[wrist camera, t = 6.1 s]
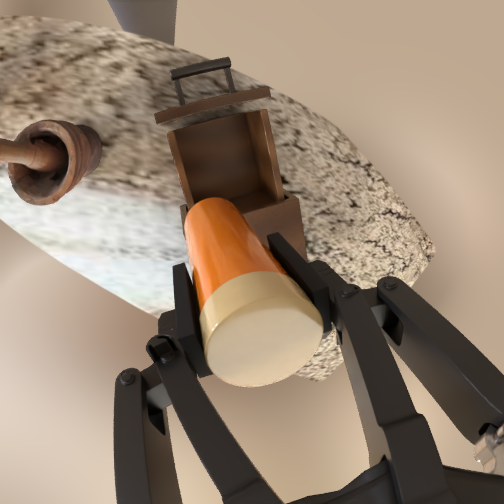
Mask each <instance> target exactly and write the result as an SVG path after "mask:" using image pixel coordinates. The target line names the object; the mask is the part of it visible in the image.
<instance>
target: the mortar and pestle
mask: <svg viewBox="0 0 504 504" xmlns="http://www.w3.org/2000/svg"><path fill="white" fill-rule="evenodd" d="M101 152H102V144H101V140H100V137H99V135H98V134H97V133H96V132H95V131H94V130H93V129H92V128H90V127H87V126H85V125H74V124H72V123H69V122H66V121H56V120H41V121H39V122H36V123H33V124H31V125H29V126H28V127H26V128H25V129H24V130H23V131H22V132H20V134H19V135H18V136H17V138H16V139H15V140H14V141H10V140H6V139H2V138H0V162H8V174H9V178H10V180H11V183H12V187H13V189H14V190H15V192H16V193H17V194H18V195H19V197H20V198H21V199H23V200H24V201H25V202H27V203H30V204H33V205H40V206H41V205H48V204H54V203H55V202H57V201H58V200H59V199H60V198H61V197H62V196H64V195H65V194H66V193H68V192H69V191H70V190H71V189H73V188H74V186H75V185H76V184H77V183H78V182H79V181H80V180H81V178H82V177H84V176H86V175H88V174H89V173H91V172H92V171H93V170H94V169H96V167H97V165H98V163H99V161H100V158H101Z"/></svg>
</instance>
